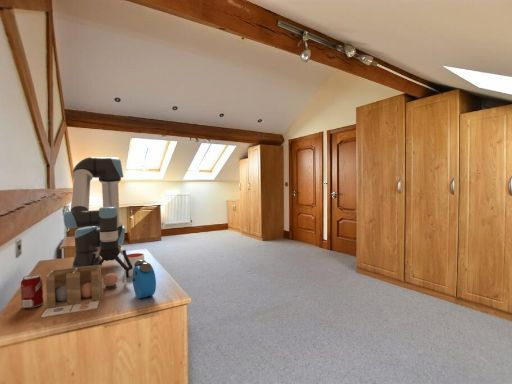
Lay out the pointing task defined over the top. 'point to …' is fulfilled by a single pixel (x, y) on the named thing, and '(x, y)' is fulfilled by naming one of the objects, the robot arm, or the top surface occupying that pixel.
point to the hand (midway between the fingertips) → (110, 286)
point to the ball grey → (61, 294)
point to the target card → (70, 308)
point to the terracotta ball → (86, 290)
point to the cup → (133, 260)
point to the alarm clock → (143, 279)
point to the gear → (110, 287)
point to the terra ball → (110, 279)
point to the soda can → (31, 291)
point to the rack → (73, 285)
